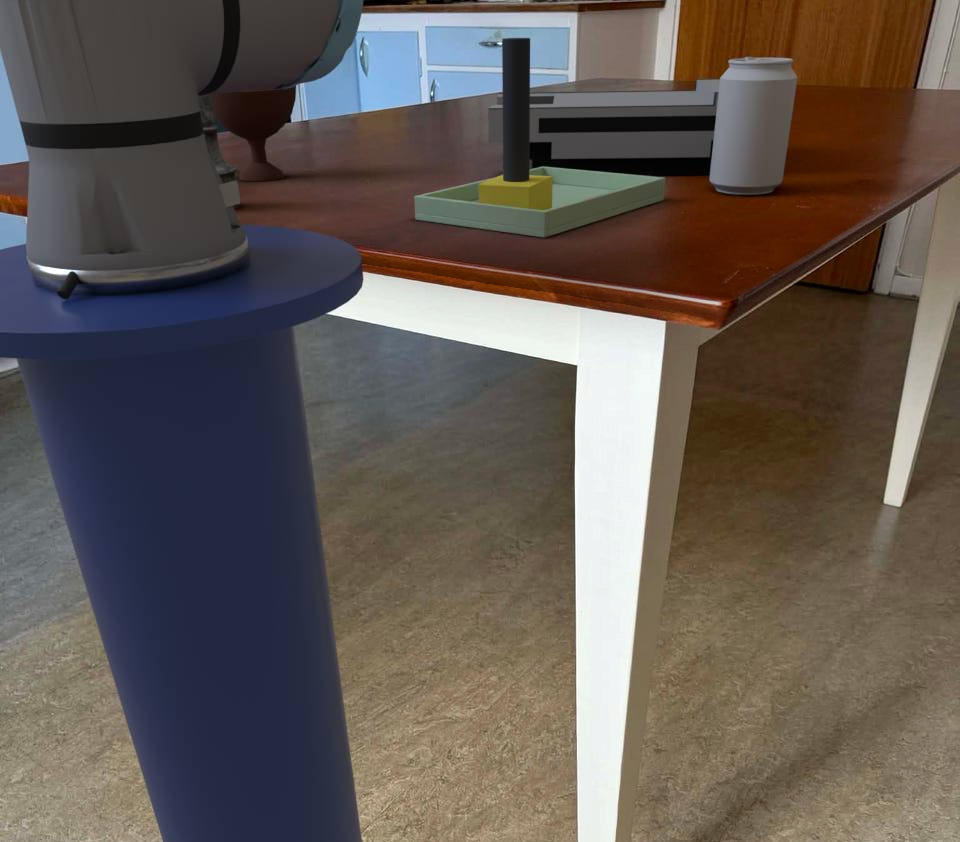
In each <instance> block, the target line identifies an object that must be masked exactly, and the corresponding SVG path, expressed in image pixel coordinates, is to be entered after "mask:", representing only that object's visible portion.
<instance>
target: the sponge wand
mask: <svg viewBox="0 0 960 842" xmlns="http://www.w3.org/2000/svg"><path fill="white" fill-rule="evenodd" d="M501 58H502V59H501V61H502V62H501V64H502V65H501V66H502V67H501V68H502V69H501V70H502V76H501V77H502V79H501V80H502V93H503V143H502V174H501V175H498V176H495V177H496V178H495V177H492V178H493V179H491V178H490V179H491V180H488V181H486V182H483V183H481V184H479V203H486V204H494V205H503V206H511V207H519V208H527V209H536V210H547V209H550V208H552V184H553V177H552V176H537V175H529V170H530V159H529V147H530V93H531V38H530V37H505V38H502V39H501Z"/></svg>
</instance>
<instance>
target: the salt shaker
mask: <svg viewBox="0 0 960 842" xmlns="http://www.w3.org/2000/svg"><path fill="white" fill-rule="evenodd" d="M198 100H199V106H200V113H201V119H202V124H203V130H204V136H205V142H206V146H207V149H208V152H209V155H210V157H211V159H212V161H213V163H214V166H215V168H216V170H217V172H218V174H219V176H220V178H221V180H222V183H223V184H224V183H228V182H232V181H236V174H235V173H236V172H237V171H238V168H237V167H236V166H234V165H230V164H229V163H227V161H225V160H224V157H223V154H222V152H221V149H220V143H219V138H218V129H220V125H218V124H216V123H215V118H214V116H213V109H212V103H211V97H210V95H201V96H198ZM240 204H241V203H240ZM240 204H237V205H233V207H234V209H235V210H237V209H239V208H240V207H241V205H240Z"/></svg>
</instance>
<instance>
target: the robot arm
mask: <svg viewBox="0 0 960 842" xmlns="http://www.w3.org/2000/svg"><path fill="white" fill-rule="evenodd" d="M363 7H364V0H0V54H1V58H2V63H3V66H4V69H5V74H6V76H7V81H8V84H9V85H8V86H9V88H10V92H11V96H12V99H13V103H14V107H15V110H16V114H17V118H18V121H19V124H20V128H21V132H22V136H23V141H24V144H25V148H26V152H27V157H28V188H27V189H28V190H27V212H26V240H25V244H26V251H27V261H28V264H29V268H30V272H31V275H32V279H33V282H34V283H35V284H36V285H37V286H39V287H41V288H43V289H46V290H49V291H53V292H58V295H59V296H60V297H61V298H62V299H68V298H69V296H70V295H71V294H73V295H88V296H115V295H134V294H146V293H156V292H164V291H171V290H177V289H183V288H189V287H194V286H198V285H203V284H207V283H211V282H214V281H218V280H221V279H224V278H227V277H229V276H232V275H234V274H236V273H238V272H240V271H242V270H243V269H245V268H246V267H247V266H248V265H249V263H250V254H249V247H248V241H247V236H246V235H245V231H244V228H243V226H242V225H243V224H242V222H241V221H240V220H239V217H238V215H237V212H236V209H234V207H233V205H237V204H241V197H240V189H239V184H238V180H236V179H235V181H232V182H228V183H224V184H223V183H222V180H221V178H220V176H219V174H218V172H217V170H216V168H215V166H214V163H213V161H212V159H211V157H210V155H209V152H208V149H207V146H206V142H205V136H204V130H203V124H202V119H201V113H200V106H199V100H198V96H201V95H210V94H220V93H229V92H239V91H249V90H258V89H272V90H275V89H289V88H292V87H294V86H296V87H297V86H298V85H301V84H305V83H311V82H314V81H318V80H320V79H322V78H324V77H326V76H328V75H329V74H330V73H332V72H333V71H334V70H336V69H337V67H338V66H339V65H340V64H341V63H342V61H344V57H345V55H346V52H347V51H348V49H350V48H351V46H352V45H353V43H354V41H355V39H356V35H357V33H358V30H359V26H360V23H361V18H362V13H363Z"/></svg>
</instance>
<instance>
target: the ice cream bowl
mask: <svg viewBox="0 0 960 842" xmlns="http://www.w3.org/2000/svg"><path fill="white" fill-rule="evenodd" d="M210 97H211V103H212V109H213V116H214V120H215V121H216V122H217V123H218V124H220V125H221V127H223V128H224V129H225V130H226V131H228V132H230V133H231V134H232V135H234V136H235V137H239V138H241V139H243V140H246V141H247V144H248V145H249V147H250V153H251V160H252V161H251V163H250V164H248V165H247V166H246V167H245V168H244V169H243V170H242V171H240V173H239V178H238V179H239V181H245V182H267V181H268V182H269V181H276V180H280V179H284V178H285V174H284V172H283V170H282V169H280V168H279V167H277V166H276V165H274V164H272V163H271V162H269V161H268V159H267V153H266V143H267V139H269V138H271V137H272V136H275V134H277V133H278V132H279V131H280V130H281V129H283V127H284V126H285V125H286V123H287V122H288V121H289V119H290V118H291V116H292V114H293V111H294V107H295V103H296V99H297V85H296V86H294V87H292V88H289V89H275V90H272V89H258V90H249V91H239V92H229V93H220V94H210Z"/></svg>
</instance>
